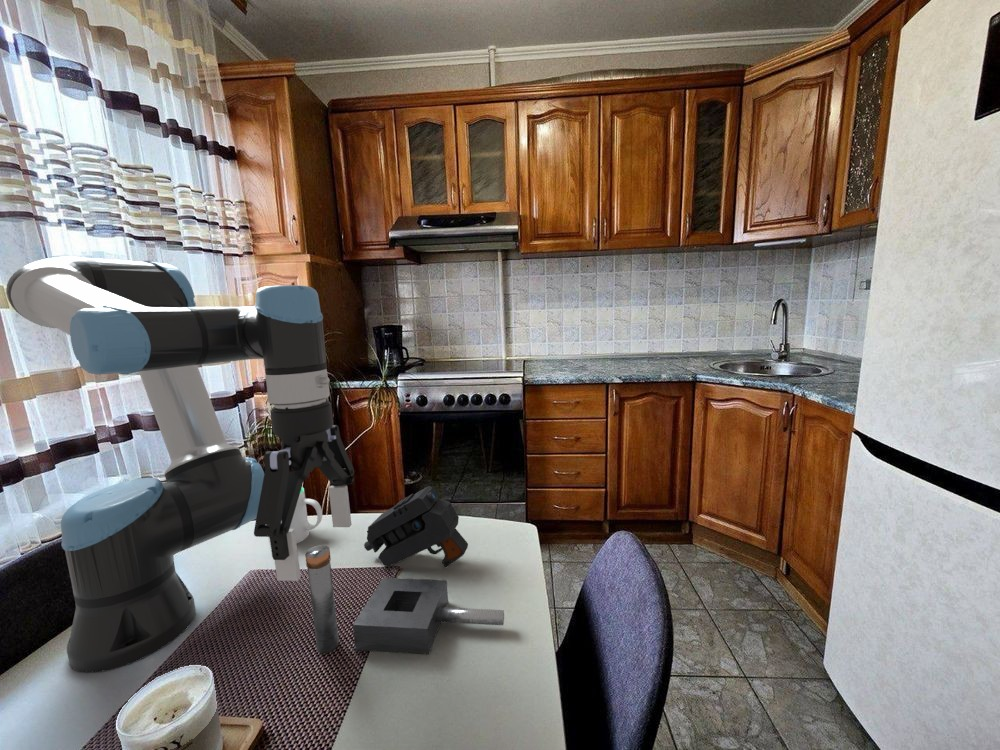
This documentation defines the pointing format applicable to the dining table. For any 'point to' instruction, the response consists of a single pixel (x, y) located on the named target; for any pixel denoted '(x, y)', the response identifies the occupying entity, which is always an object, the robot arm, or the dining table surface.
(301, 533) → the mug
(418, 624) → the grey holed block
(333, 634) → the grey metal rod
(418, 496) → the toy gun
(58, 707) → the dining table surface
